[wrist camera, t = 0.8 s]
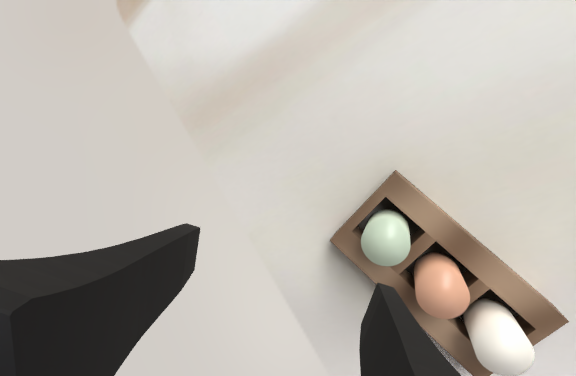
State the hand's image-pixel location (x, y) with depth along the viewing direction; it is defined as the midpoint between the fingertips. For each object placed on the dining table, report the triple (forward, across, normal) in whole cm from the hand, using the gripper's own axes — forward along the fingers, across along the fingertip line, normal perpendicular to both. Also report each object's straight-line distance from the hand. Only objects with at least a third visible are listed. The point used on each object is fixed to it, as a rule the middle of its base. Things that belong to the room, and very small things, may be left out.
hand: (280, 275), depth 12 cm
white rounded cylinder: (+10, -14, +5) cm, 18 cm away
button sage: (+12, -6, +2) cm, 14 cm away
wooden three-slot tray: (+13, -10, +4) cm, 17 cm away
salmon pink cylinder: (+11, -10, +4) cm, 15 cm away
